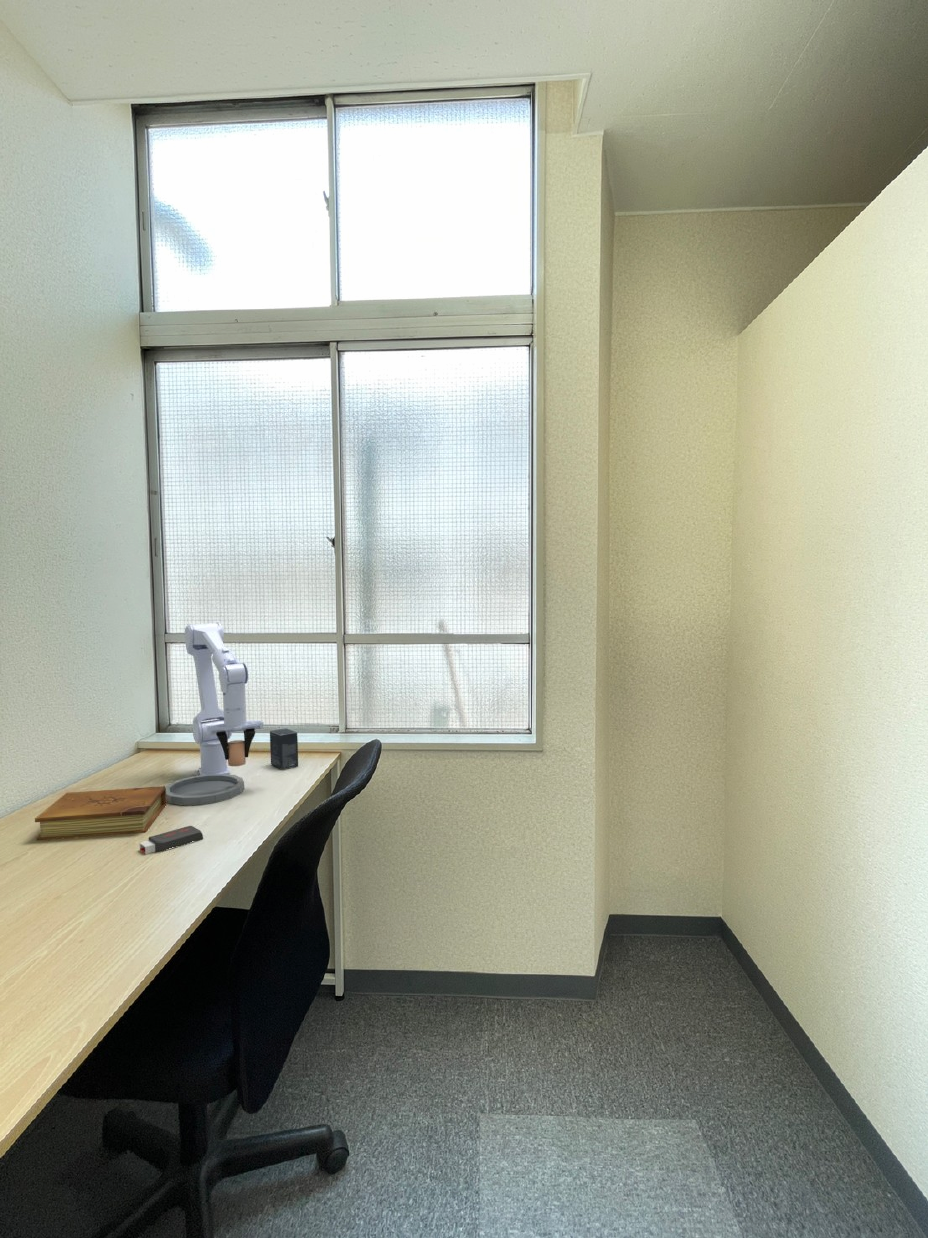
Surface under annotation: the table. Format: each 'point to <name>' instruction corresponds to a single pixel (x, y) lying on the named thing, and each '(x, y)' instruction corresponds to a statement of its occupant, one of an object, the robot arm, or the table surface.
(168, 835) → the usb drive
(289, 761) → the box
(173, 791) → the round tray
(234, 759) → the terracotta rounded cylinder
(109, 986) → the table surface
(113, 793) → the diary
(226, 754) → the robot arm
